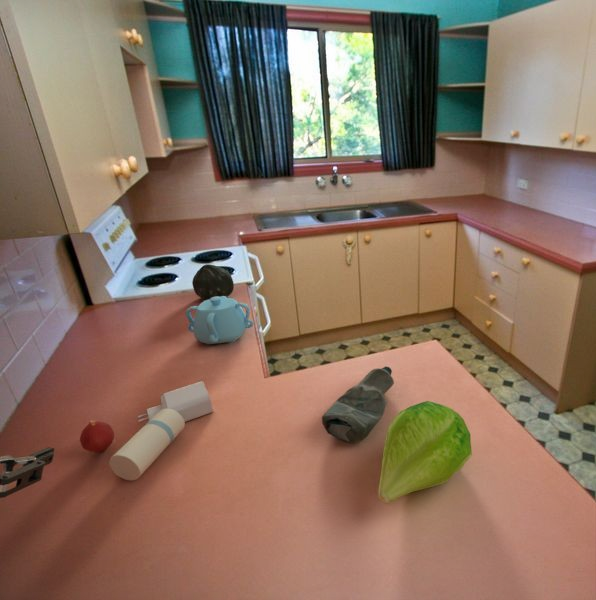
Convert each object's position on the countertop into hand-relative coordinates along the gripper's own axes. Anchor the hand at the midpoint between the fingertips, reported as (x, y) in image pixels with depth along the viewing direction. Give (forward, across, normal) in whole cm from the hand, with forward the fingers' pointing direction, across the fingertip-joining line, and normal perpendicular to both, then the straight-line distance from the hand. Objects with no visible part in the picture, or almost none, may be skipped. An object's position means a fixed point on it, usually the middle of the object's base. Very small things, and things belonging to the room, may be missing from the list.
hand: (22, 447), depth 63 cm
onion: (+27, -4, -12) cm, 30 cm away
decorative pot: (+74, -2, +9) cm, 74 cm away
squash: (+105, -20, +18) cm, 108 cm away
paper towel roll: (+18, +6, -9) cm, 21 cm away
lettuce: (+17, +62, +1) cm, 64 cm away
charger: (+38, +5, -5) cm, 38 cm away
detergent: (+37, +48, +6) cm, 61 cm away
